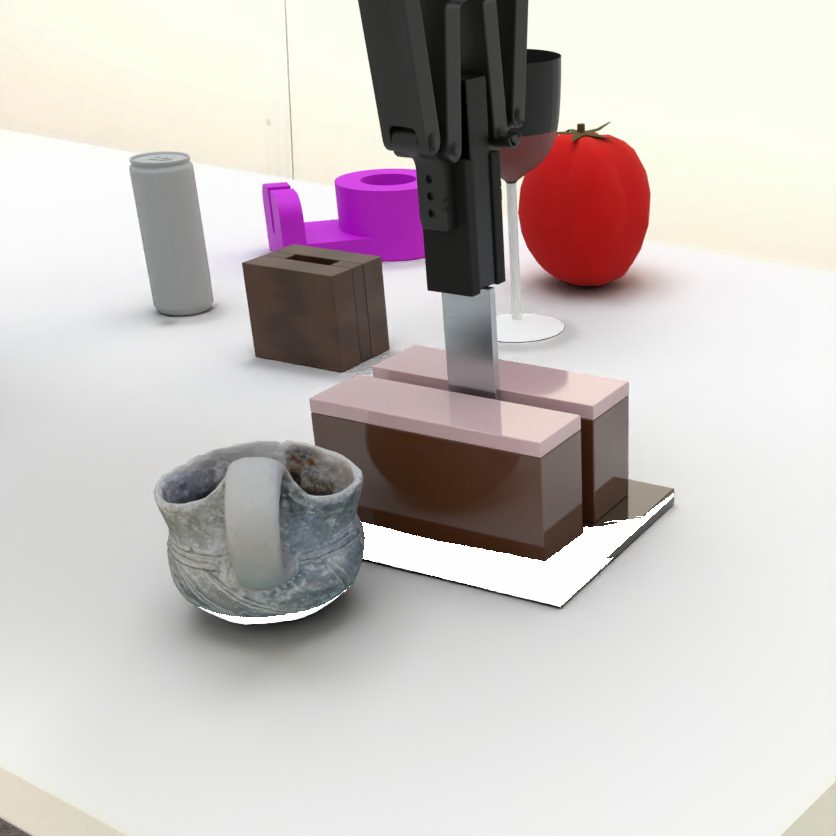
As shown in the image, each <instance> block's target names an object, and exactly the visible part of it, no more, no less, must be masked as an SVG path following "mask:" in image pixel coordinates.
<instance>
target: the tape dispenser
mask: <svg viewBox="0 0 836 836" xmlns="http://www.w3.org/2000/svg"><path fill="white" fill-rule="evenodd" d="M261 186H262V187H261V189H262V190H261V194H262V203H263V204H262V205H263V212H264V219H265V226H266V232H267V241H268V249H269V250H270V251H271V252H274V251H276V250H279V249H282V248H284V247H287V246H290V245H293V244H297V245H304V246H311V247H318V248H325V249H332V250H339V251H346V252H353V253H360V254H367V255H374V256H381V259H382V262H398V261H399V262H400V261H409V260H410V261H411V260H417V259H418V260H419V259H425V252H424V239H423V227H422V224H421V221H420V215H419V208H420V206H419V202H418V199H419V197H418V189H417V177H416V168H414V169H413V168H373V169H365V170H364V169H363V170H358V171H353V172H347V173H345V174H342V175H339V176H337V177H336V178H335V179H334V191H335V199H336V208H337V209H336V210H337V218H336V219H326V220H313V221H305V220H304V219H305V218H304V211H303V207H302V202H301V199H300V196H299V193H298V192H297V191H296V190H295V188H292V187H291V185H290V184H289V183H288V182H287V181H282V182H281V181H280V182H268V183H262V185H261Z"/></svg>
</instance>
